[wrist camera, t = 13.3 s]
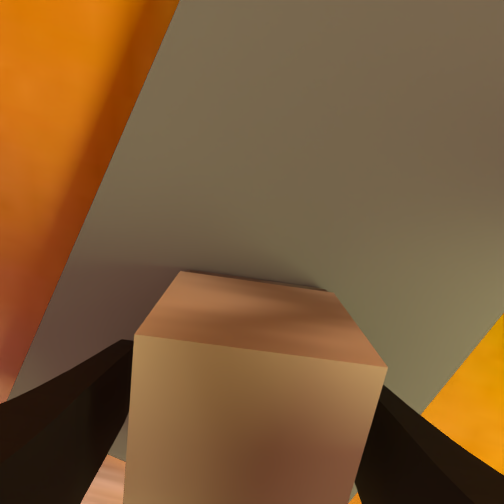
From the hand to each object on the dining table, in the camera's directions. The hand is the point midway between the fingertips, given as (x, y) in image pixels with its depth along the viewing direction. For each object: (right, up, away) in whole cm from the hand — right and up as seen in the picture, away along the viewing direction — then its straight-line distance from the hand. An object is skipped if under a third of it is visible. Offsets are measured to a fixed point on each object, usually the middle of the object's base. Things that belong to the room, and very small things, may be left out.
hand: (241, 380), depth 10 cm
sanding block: (0, 0, +1) cm, 1 cm away
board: (+2, +4, +1) cm, 5 cm away
